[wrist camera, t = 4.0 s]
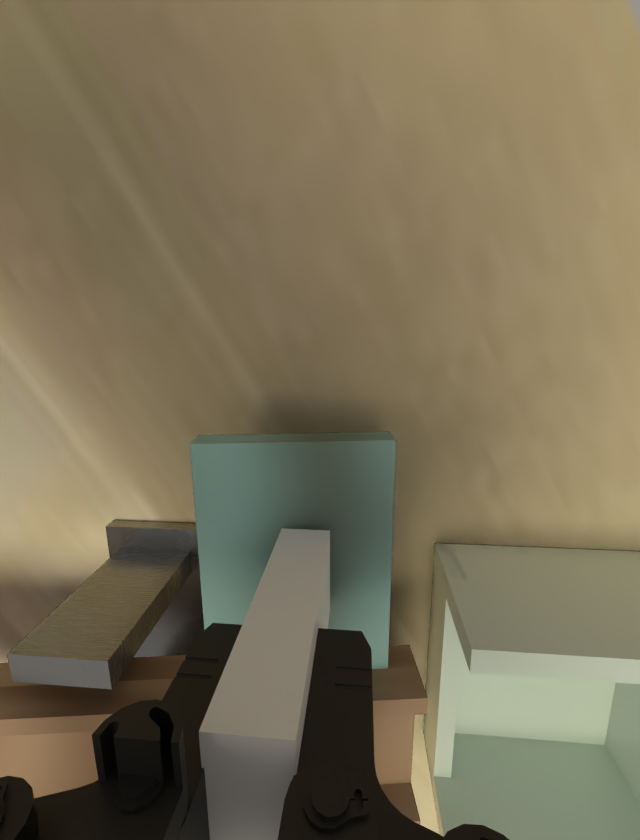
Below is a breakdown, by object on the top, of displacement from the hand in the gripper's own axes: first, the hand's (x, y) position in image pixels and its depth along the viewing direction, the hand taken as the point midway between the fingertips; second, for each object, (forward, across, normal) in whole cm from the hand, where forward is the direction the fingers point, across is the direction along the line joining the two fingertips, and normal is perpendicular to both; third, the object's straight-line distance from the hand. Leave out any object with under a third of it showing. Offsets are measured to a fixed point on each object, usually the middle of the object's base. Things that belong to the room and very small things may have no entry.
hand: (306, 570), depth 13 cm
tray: (+5, +9, -7) cm, 13 cm away
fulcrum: (+5, -7, -7) cm, 11 cm away
